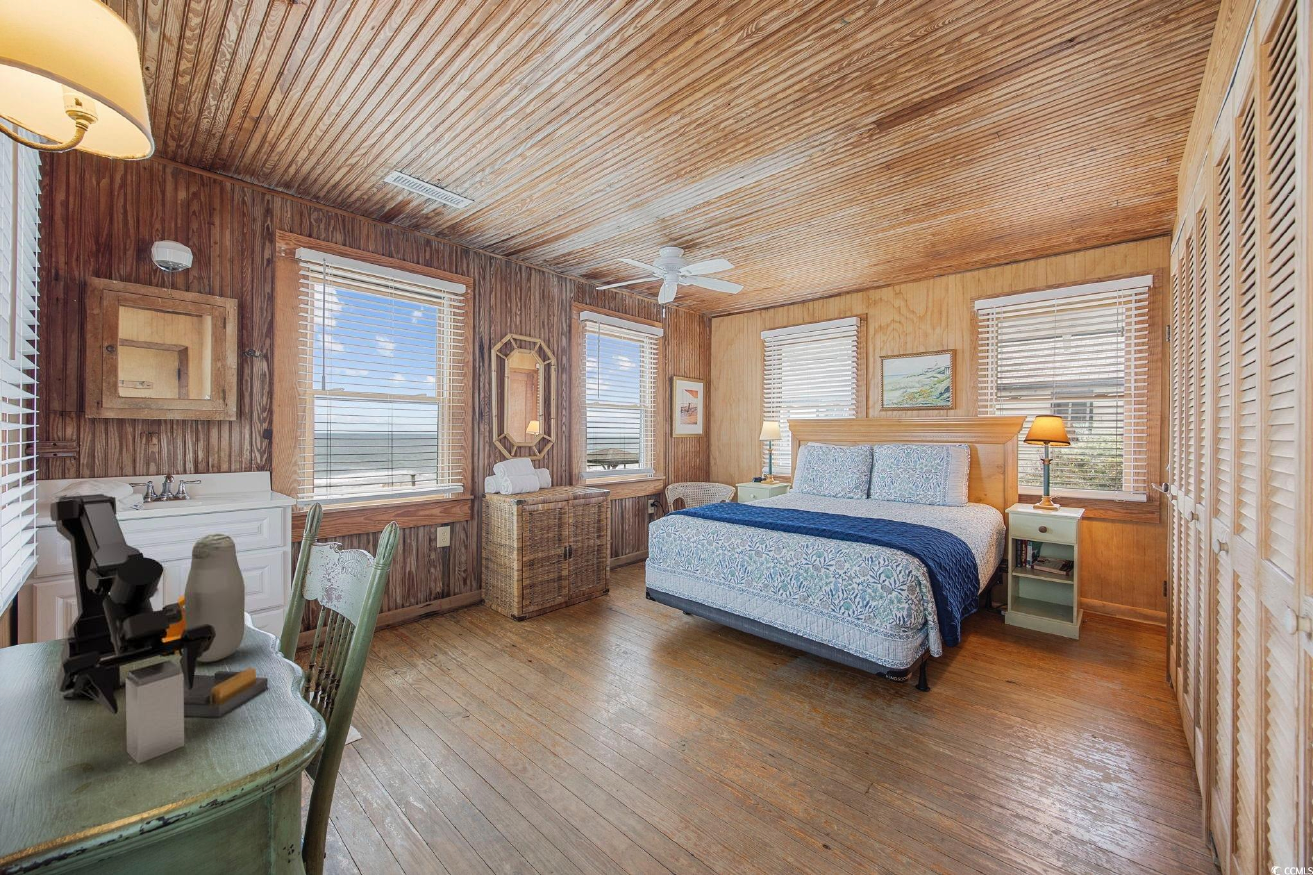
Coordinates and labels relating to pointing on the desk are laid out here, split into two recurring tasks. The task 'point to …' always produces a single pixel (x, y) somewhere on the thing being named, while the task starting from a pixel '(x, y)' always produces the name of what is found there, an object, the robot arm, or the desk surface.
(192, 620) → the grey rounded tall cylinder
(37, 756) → the desk surface
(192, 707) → the grey base plate
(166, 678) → the block
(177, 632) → the bracket
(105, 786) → the desk surface
